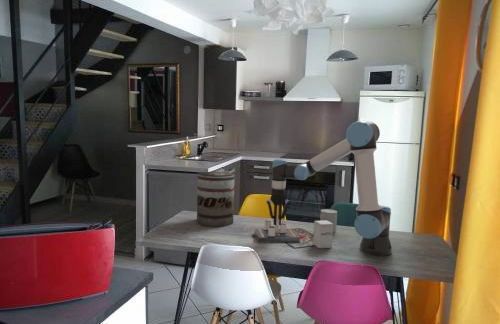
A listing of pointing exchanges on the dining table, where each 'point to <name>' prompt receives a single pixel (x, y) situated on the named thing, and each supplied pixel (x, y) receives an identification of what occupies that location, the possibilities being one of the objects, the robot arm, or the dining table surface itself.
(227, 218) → the barrel
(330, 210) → the grey block
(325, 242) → the supplement box
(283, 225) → the breaker mid
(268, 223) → the breaker
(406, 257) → the dining table surface
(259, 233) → the panel
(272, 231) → the breaker
